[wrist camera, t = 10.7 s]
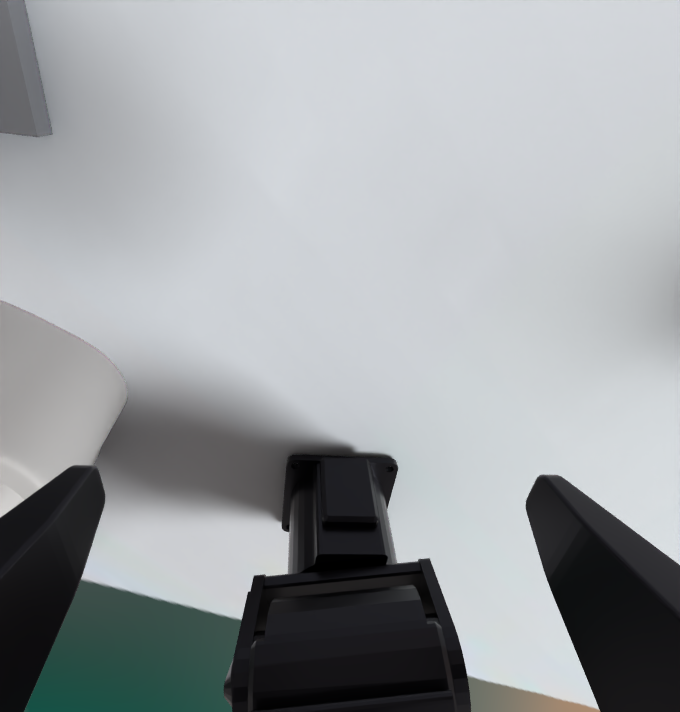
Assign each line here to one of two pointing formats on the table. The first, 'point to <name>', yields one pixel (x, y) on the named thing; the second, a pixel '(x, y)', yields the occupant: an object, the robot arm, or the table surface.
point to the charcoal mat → (20, 75)
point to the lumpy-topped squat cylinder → (50, 403)
